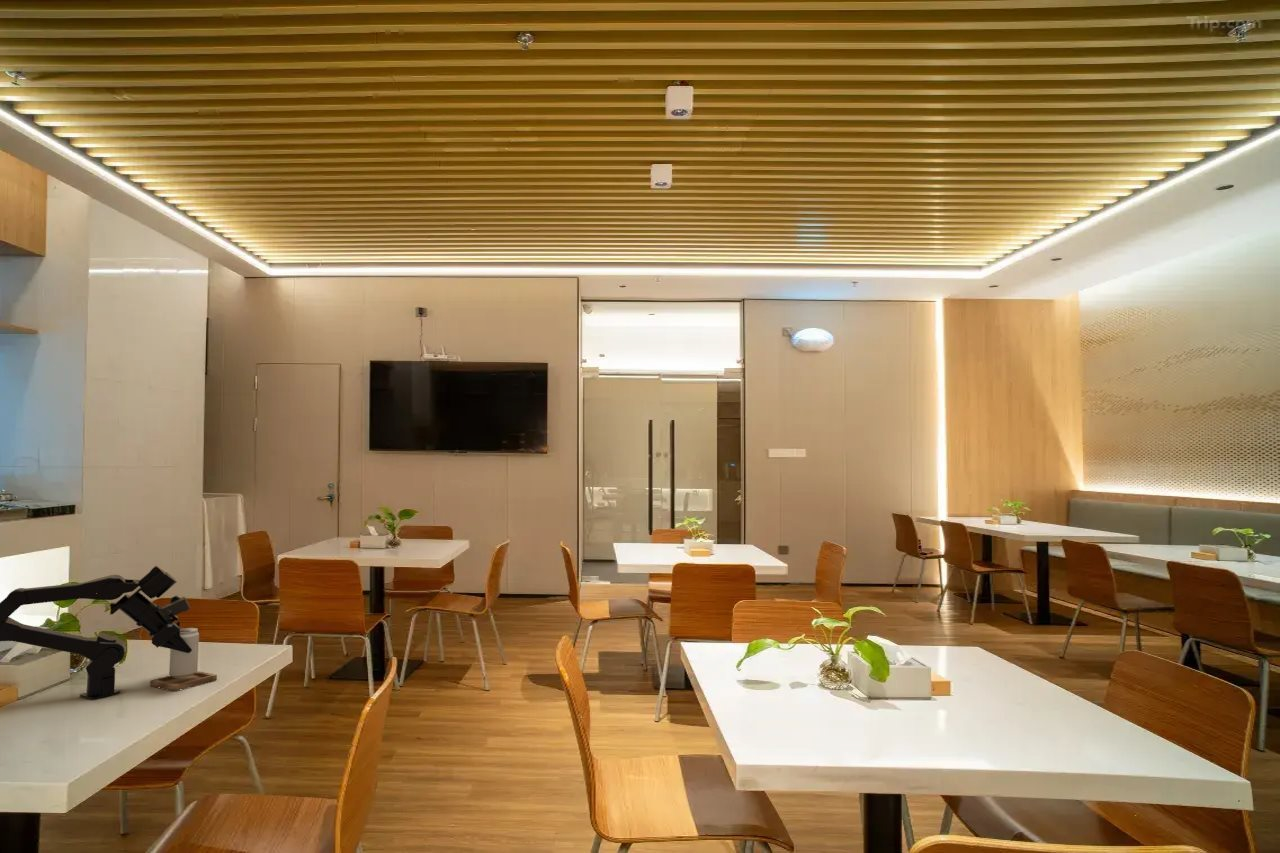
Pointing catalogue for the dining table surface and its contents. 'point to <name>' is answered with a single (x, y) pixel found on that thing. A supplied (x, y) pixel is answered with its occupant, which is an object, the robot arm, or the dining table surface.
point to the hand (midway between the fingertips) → (190, 649)
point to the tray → (183, 681)
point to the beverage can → (185, 655)
